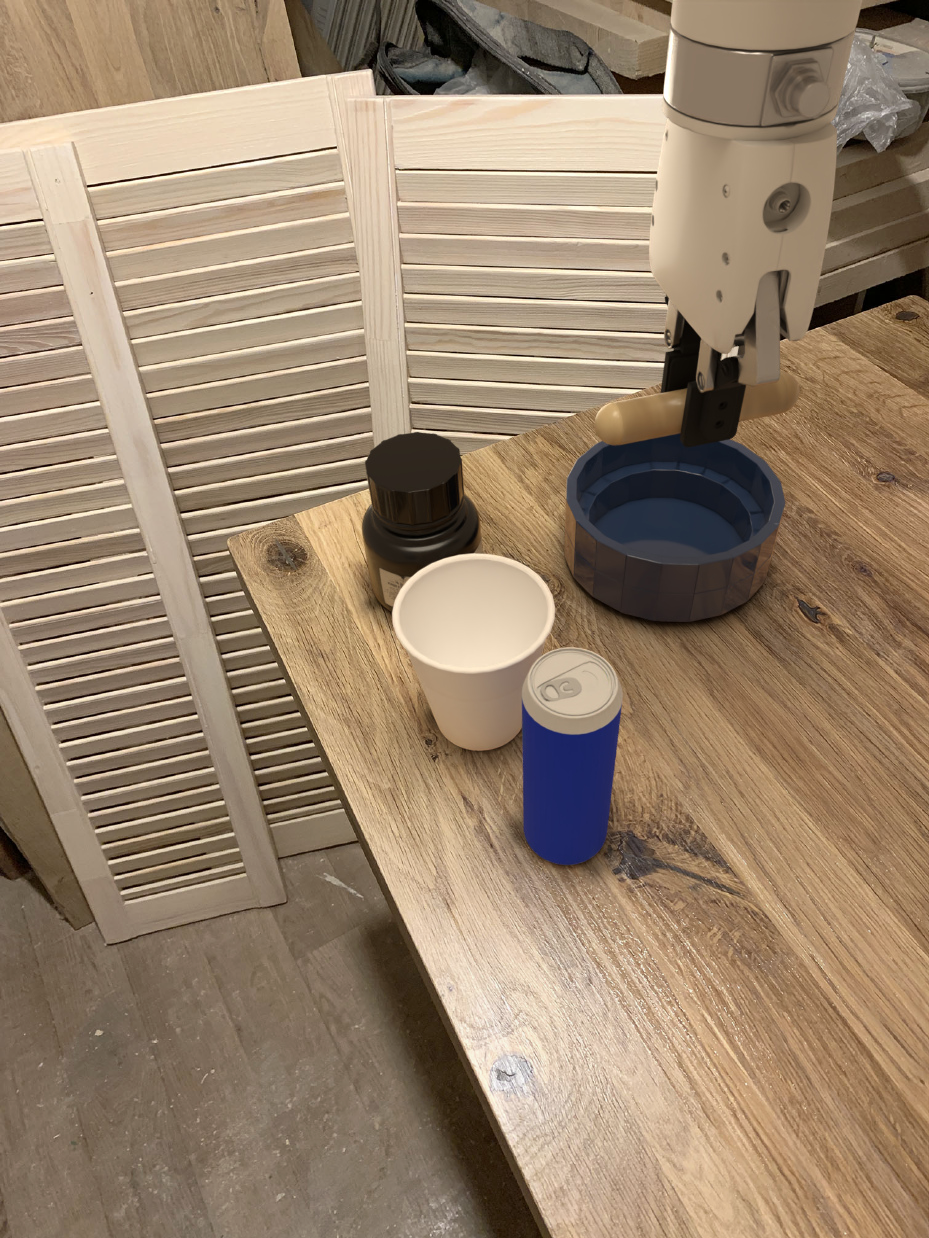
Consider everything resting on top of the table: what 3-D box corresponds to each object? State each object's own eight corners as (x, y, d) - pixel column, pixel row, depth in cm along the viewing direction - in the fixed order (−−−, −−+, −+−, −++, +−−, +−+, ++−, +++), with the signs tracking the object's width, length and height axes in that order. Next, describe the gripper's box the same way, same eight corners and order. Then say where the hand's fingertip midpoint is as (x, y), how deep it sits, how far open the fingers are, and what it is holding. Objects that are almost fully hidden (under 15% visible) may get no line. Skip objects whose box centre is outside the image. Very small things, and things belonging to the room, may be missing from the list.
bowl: (718, 474, 80) (730, 412, 76) (804, 603, 70) (824, 539, 65) (540, 509, 79) (541, 446, 74) (600, 646, 68) (605, 583, 63)
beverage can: (583, 785, 60) (595, 631, 49) (621, 852, 57) (642, 702, 46) (510, 812, 59) (505, 661, 48) (544, 882, 56) (547, 736, 45)
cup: (577, 747, 62) (583, 639, 54) (439, 798, 60) (424, 694, 52) (517, 645, 68) (515, 534, 60) (390, 688, 66) (370, 580, 58)
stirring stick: (782, 395, 55) (791, 360, 53) (802, 418, 54) (811, 382, 52) (587, 433, 54) (589, 397, 52) (601, 457, 52) (604, 422, 50)
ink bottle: (392, 640, 69) (372, 520, 61) (350, 568, 75) (326, 448, 66) (507, 596, 72) (504, 473, 63) (459, 529, 77) (449, 408, 69)
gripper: (939, 126, 35) (824, 499, 49) (752, 10, 46) (700, 342, 59) (755, 155, 34) (690, 527, 48) (607, 30, 45) (588, 363, 58)
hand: (696, 422), depth 53 cm, fingers closed on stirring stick, 2 cm apart
